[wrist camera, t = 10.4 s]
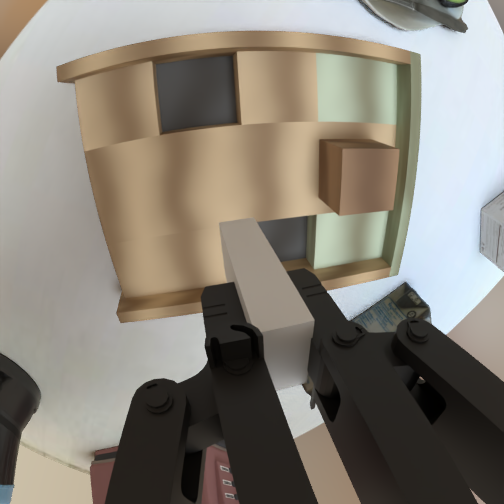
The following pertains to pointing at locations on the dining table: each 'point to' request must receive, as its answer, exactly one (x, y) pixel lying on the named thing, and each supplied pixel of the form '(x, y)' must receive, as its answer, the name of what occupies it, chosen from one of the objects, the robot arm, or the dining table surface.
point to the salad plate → (420, 13)
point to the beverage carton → (389, 315)
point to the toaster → (214, 485)
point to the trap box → (239, 155)
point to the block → (357, 175)
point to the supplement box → (493, 231)
